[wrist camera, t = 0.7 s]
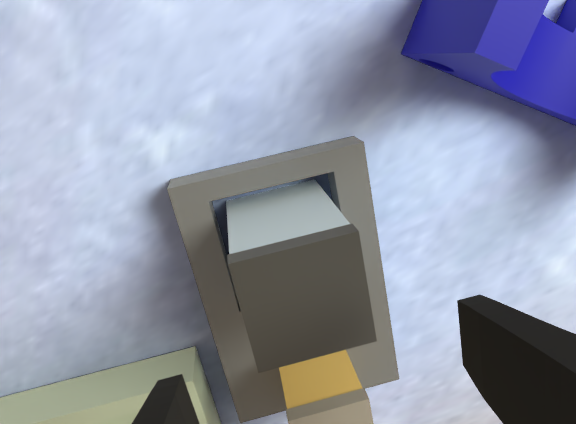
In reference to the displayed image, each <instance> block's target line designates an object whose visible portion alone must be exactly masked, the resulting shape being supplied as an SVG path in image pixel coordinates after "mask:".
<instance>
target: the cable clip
mask: <svg viewBox="0 0 576 424" xmlns="http://www.w3.org/2000/svg"><path fill="white" fill-rule="evenodd" d="M548 1H549V0H422V2H421V5H420V7H419V10H418V12H417V15H416V17H415V20H414V22H413V25H412V27H411V30H410V32H409V35H408V37H407V40H406V42H405V45H404V47H403V50H402V52H401V54H402V55H404V56H406V57H409V58H411V59H414V60H416V61H419V62H421V63H424V64H426V65H428V66H431V67H433V68H436V69H438V70H441V71H443V72H446V73H448V74H450V75H453V76H455V77H458V78H460V79H463V80H465V81H468V82H470V83H473V84H475V85H477V86H480V87H482V88H485V89H487V90H490V91H492V92H495V93H497V94H499V95H502V96H504V97H507V98H509V99H512V100H514V101H517V102H519V103H521V104H524V105H526V106H529V107H531V108H534V109H536V110H539V111H541V112H543V113H546V114H548V115H551V116H553V117H556V118H558V119H561V120H563V121H565V122H568V123H570V124H573V125H575V126H576V0H567V1H566V3H565V5H564V7H563V10H562V12H561V14H560V16H559V18H558V20H557V22H556V24H555V23H554V22H552V21H551V20H549V19H548V18H546V17H545V16H544V15H543V12H544V10H545V8H546V5H547V3H548Z"/></svg>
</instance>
